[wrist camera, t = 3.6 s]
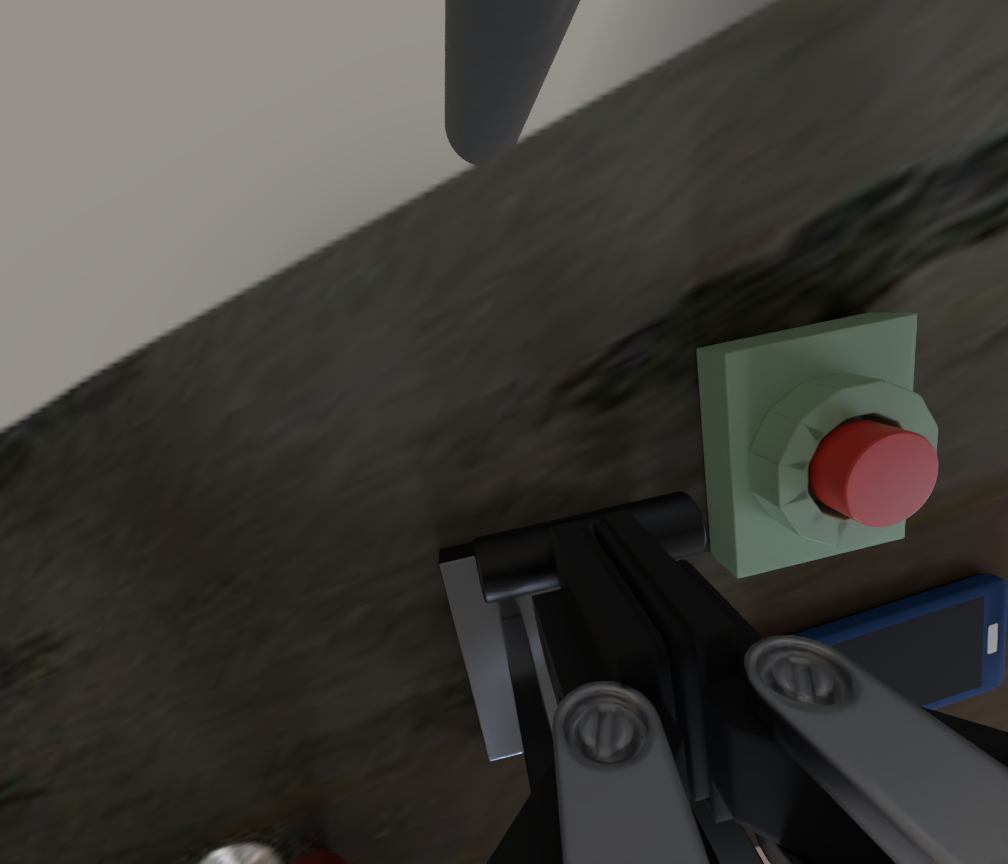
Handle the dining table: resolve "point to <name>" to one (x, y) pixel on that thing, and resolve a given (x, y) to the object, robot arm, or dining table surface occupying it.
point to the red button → (873, 472)
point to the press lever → (529, 550)
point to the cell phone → (930, 641)
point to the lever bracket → (533, 689)
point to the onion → (322, 858)
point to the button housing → (798, 432)
